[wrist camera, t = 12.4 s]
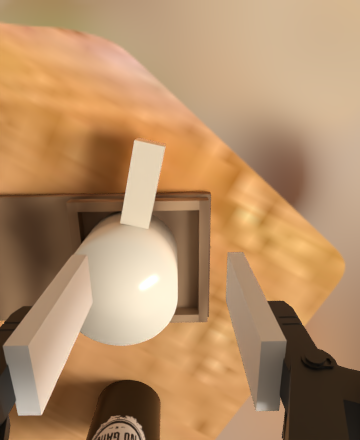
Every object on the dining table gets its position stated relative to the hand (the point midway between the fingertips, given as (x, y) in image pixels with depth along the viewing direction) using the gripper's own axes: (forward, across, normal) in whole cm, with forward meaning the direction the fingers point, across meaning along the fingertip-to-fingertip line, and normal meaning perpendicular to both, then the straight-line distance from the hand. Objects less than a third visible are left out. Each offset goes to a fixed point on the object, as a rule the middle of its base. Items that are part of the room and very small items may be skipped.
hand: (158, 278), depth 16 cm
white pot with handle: (+18, -3, -3) cm, 19 cm away
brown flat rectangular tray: (+19, -9, -8) cm, 22 cm away
